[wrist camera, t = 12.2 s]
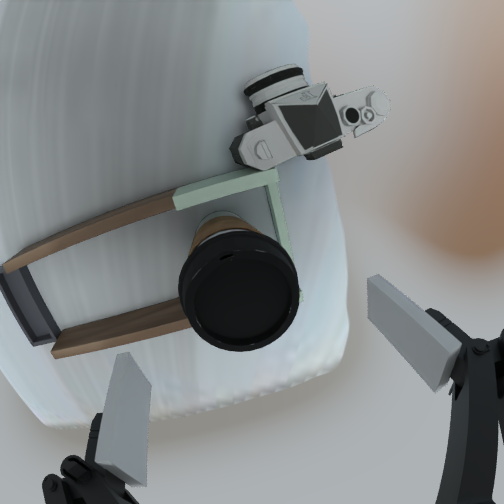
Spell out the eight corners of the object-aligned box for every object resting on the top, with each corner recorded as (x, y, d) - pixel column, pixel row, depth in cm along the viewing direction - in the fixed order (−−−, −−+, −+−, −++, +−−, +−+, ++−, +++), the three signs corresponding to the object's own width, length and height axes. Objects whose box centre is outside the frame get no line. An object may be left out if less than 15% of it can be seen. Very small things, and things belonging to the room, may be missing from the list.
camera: (332, 60, 26) (381, 35, 17) (361, 124, 29) (416, 121, 20) (206, 106, 26) (211, 84, 17) (242, 177, 29) (264, 190, 20)
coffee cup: (247, 188, 30) (294, 222, 16) (268, 258, 33) (318, 334, 19) (172, 214, 29) (153, 271, 15) (199, 282, 32) (206, 373, 18)
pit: (-1, 267, 26) (-8, 272, 24) (22, 255, 26) (15, 261, 25) (37, 339, 30) (32, 346, 29) (62, 333, 31) (57, 341, 29)
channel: (22, 249, 26) (2, 264, 21) (177, 187, 28) (173, 194, 23) (67, 336, 31) (55, 359, 27) (213, 297, 33) (216, 319, 29)
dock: (177, 187, 28) (172, 197, 22) (268, 162, 29) (287, 165, 23) (213, 297, 33) (218, 328, 27) (292, 272, 34) (312, 297, 28)
